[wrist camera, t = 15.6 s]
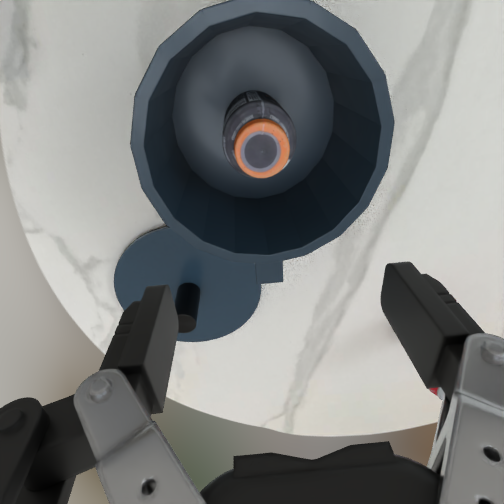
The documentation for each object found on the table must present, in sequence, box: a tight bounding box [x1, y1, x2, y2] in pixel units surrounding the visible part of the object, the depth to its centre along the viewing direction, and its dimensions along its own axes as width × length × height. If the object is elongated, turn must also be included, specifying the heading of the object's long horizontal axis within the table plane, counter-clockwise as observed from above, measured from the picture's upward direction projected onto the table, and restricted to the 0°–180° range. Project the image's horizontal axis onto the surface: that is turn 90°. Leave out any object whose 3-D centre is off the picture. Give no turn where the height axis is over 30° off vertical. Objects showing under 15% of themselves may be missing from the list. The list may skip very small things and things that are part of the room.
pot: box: [130, 0, 394, 284], centre depth 28 cm, size 18×23×12 cm
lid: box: [114, 227, 261, 342], centre depth 41 cm, size 19×19×7 cm
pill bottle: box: [222, 91, 297, 178], centre depth 28 cm, size 6×6×11 cm
